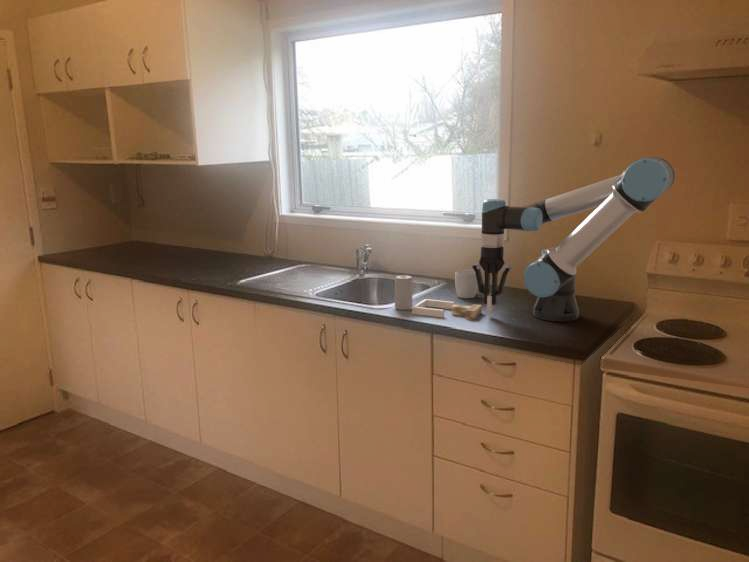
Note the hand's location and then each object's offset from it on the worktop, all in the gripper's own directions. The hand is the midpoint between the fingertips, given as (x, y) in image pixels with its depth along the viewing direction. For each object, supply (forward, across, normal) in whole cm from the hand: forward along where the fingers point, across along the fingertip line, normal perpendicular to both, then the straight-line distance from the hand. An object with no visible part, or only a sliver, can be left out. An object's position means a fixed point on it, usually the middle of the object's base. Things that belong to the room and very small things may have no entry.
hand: (489, 313), depth 213 cm
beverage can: (+2, +32, +1) cm, 32 cm away
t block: (+2, +9, 0) cm, 9 cm away
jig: (+2, +20, 0) cm, 20 cm away
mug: (+2, +16, -27) cm, 31 cm away
